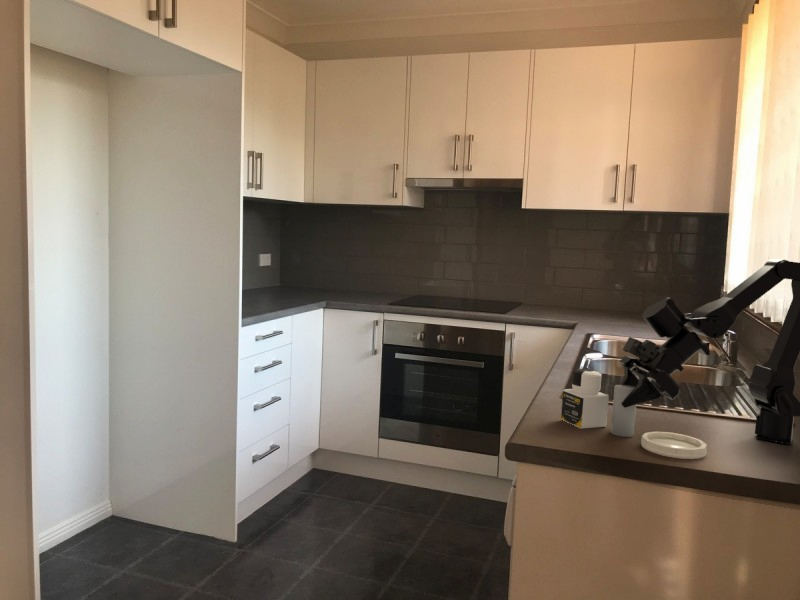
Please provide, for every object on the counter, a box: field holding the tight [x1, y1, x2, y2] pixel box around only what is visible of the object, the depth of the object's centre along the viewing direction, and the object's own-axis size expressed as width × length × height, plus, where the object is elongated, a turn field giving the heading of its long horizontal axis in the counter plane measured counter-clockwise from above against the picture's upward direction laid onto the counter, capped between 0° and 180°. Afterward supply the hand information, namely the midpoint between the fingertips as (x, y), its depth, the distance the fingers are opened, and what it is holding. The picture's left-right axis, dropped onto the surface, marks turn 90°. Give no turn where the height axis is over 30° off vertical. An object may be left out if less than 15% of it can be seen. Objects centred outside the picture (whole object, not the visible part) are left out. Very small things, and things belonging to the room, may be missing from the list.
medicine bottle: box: [560, 368, 609, 429], centre depth 148 cm, size 7×7×12 cm
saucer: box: [640, 431, 708, 460], centre depth 133 cm, size 12×12×2 cm
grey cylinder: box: [610, 384, 637, 438], centre depth 142 cm, size 5×5×10 cm
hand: (618, 402), depth 142 cm, fingers closed on grey cylinder, 5 cm apart
